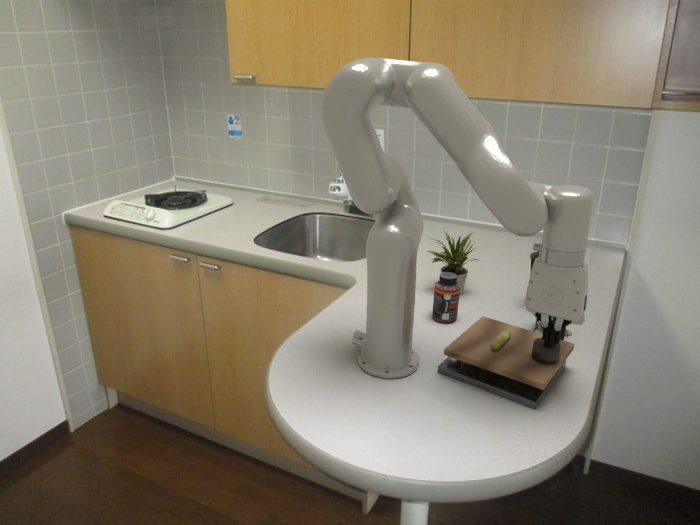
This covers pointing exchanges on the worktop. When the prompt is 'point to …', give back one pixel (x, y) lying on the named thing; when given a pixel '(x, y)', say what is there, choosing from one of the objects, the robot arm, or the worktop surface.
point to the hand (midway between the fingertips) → (550, 344)
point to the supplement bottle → (446, 298)
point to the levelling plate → (509, 352)
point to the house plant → (455, 258)
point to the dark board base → (496, 382)
